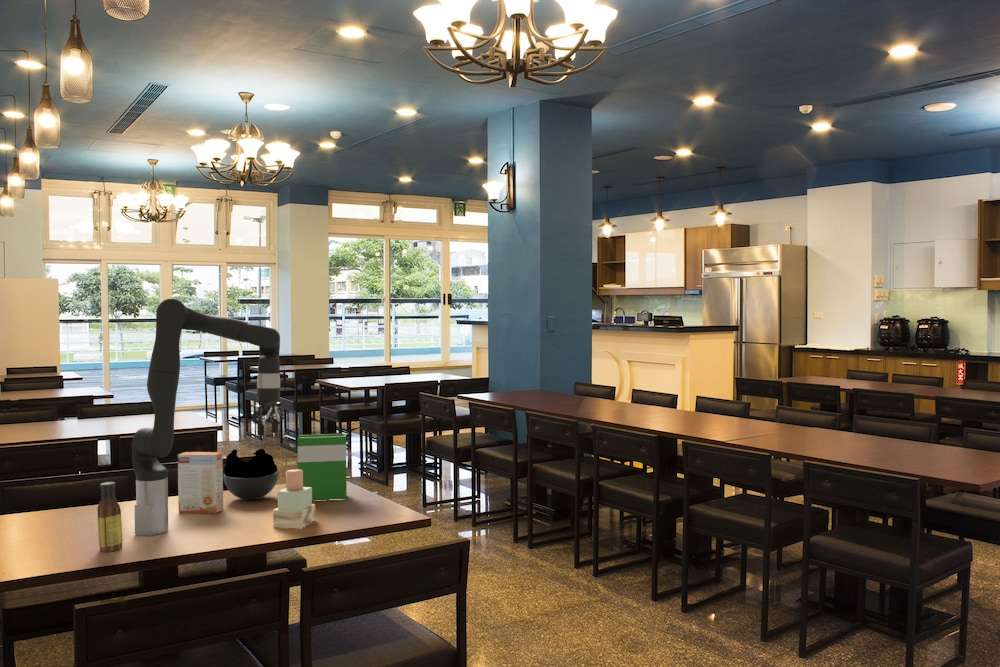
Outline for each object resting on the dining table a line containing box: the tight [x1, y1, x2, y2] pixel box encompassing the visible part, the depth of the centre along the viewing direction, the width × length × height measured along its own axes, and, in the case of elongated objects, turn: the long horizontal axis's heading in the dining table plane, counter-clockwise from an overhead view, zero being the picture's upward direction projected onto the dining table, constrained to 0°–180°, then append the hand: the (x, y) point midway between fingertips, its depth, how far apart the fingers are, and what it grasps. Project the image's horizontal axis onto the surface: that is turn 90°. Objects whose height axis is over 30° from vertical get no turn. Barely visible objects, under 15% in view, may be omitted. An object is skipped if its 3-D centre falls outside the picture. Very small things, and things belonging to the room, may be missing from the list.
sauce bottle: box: [96, 481, 123, 553], centre depth 225 cm, size 6×6×20 cm
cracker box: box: [177, 451, 224, 514], centre depth 269 cm, size 14×6×21 cm, turn 84°
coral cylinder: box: [285, 468, 303, 491], centre depth 252 cm, size 6×6×6 cm
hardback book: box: [297, 433, 348, 501], centre depth 287 cm, size 18×7×24 cm, turn 103°
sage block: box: [277, 487, 313, 511], centre depth 252 cm, size 8×8×6 cm
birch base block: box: [272, 503, 316, 530], centre depth 252 cm, size 10×10×6 cm
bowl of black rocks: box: [223, 448, 280, 501], centre depth 287 cm, size 20×20×19 cm
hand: (268, 434), depth 258 cm, fingers open, 8 cm apart
